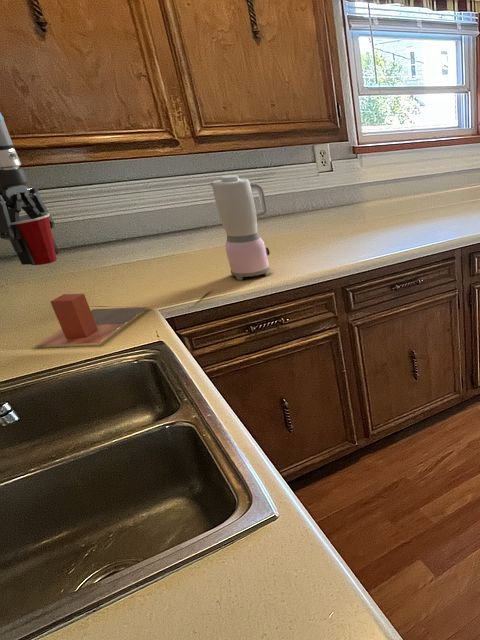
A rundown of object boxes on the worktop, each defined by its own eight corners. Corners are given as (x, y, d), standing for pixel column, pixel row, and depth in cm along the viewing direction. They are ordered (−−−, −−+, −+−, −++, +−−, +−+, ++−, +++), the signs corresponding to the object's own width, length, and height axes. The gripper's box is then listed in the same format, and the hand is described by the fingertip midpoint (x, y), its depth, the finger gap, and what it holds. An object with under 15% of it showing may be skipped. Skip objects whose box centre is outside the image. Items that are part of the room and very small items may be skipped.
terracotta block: (65, 338, 130) (50, 301, 125) (78, 330, 134) (63, 294, 130) (86, 337, 130) (71, 300, 126) (98, 329, 135) (84, 293, 130)
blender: (237, 282, 169) (213, 180, 154) (227, 274, 178) (202, 176, 163) (285, 273, 178) (266, 175, 163) (273, 265, 186) (253, 171, 172)
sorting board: (36, 348, 127) (35, 345, 127) (94, 311, 148) (93, 309, 148) (99, 345, 128) (98, 342, 127) (148, 309, 149) (147, 307, 149)
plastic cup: (24, 259, 139) (4, 214, 134) (72, 254, 143) (54, 210, 138) (10, 270, 131) (-12, 223, 125) (61, 265, 134) (42, 218, 129)
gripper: (-16, 174, 117) (27, 270, 127) (48, 162, 136) (81, 247, 146) (-51, 175, 116) (-5, 272, 127) (18, 163, 135) (53, 248, 146)
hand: (41, 258), depth 136 cm, fingers closed on plastic cup, 9 cm apart
